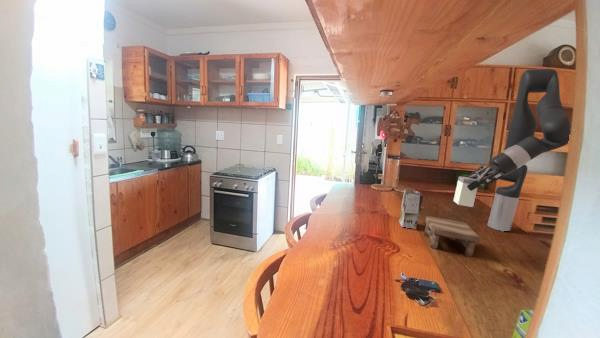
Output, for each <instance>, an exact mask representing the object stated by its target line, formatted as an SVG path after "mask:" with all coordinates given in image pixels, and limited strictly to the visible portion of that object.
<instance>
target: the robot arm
mask: <svg viewBox="0 0 600 338" xmlns="http://www.w3.org/2000/svg"><path fill="white" fill-rule="evenodd" d="M559 81H560V80H559V75H558V72H557V71H556V70H555V69H553V68H539V69H536V68H535V69H527V70H524V71H523V72H522V74H521V77H520V79H519V84H518V89H517V95H516V99H515V106H514V109H513V114H512V115H511V116H512V117H511V121H510V123H509V127H508V131H507V135H506V141H505V144H504V145H505V146H504V148H503V151H501V152H500V153H498V154H497V155H495V156H494V157H492V158H490V159H489V163H490V164H489V165H486V166H484V165H480V166H479V167H478V168H477V169H475V170H473V171H472V172H471V173H469V177H468V178H474V179H476V181H474V182H472V183H471V184H469V185H468V186H467V187H468V189H469V190H471V191H472V190H474V189H475V188H477V187H478V188H479V187H480V186H488V185H490V184H492V183H494V182H496V181H499V180H500V181H505V182H511V183H513V184H511V185H509V186H498V187H497V188H496V190H495V194H494V198H493V201H492V202H493V203H492V205H491V210H490V213H489V217H488V221H487V226H488V227H489V228H491V229H492V230H496V231H499V230H500V232H504V231H510V232H511V229H512V226H513V222H514V219H515V214H516V212H517V208H518V204H519V199H520V196H521V192H522V189H523V185H524V182H525V179H526V176H527V173H528V166H527V165H526V164H527V163H528V162H530V161H531V160H533V159H535V158H536V157H538V156H540V155H542V154H544V153H548V152H550V151H551V152H552V151H553V150H557V149H559V148H562V147H565V146H567V145H568V144H569V143H568V141H569V134H570V125H571V122H570V120H569V117H568V115H567V114H566V111H565V109H564V106H563V104H562V102H561V96H560V95H561V93H560V92H561V91H560V82H559ZM531 93H532V94H535V93H536V94H537V93H545V94H544V95H543V96H542V97H541V98H540V99H539V101H538V102H537V104H536V108H535V111H536V115H537V117H538V121H539V125H540V128H541V129H540V130H541V132H542V134H543V137H542V138H538V137H537V136H535V134H536V130H537V126H538V122H537V119H536V116H535V115H534V113H533V111H532V109H531V107H530V104H529V94H531ZM478 188H477V189H478Z"/></svg>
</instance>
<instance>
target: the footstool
mask: <svg viewBox="0 0 600 338" xmlns="http://www.w3.org/2000/svg"><path fill="white" fill-rule="evenodd" d="M424 220H425V222H426V223H425V228H424V233H423V235H424V236H425V237H429V239H430V244H429V245H430V246H429V248H430V249H432V250H438V245H439V242H440V237H441V236H443V237H448V238H452V239H453V238H454V242H456V243H460V244H463V246H464V247H465V251H464V255H465V256H467V257H471V258H472V257H473V255H474V251H475V246H476V243H479V242H480V236H479V235H478V234H477V233H476V231H474V230H473V229H472V228H471V227H470V226H469V225H468V224H467V223H466V222H464V221H457V220H451V219H446V218H442V217H441V218H440V217H435V216H430V215H425V219H424Z"/></svg>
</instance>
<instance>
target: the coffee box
mask: <svg viewBox="0 0 600 338" xmlns="http://www.w3.org/2000/svg"><path fill="white" fill-rule="evenodd" d="M403 190H404V191H403V196H402V200H401V206H400V211H399V212H400V213H399V218H398V222H399V224H400V226H401V228H402V227H406V228H405V229H407V228H413V229H416V230H417V227H418V222H419V218H420V213H421V207H422V205H423V204H422V203H423V199H424V194H422V193H421V192H420V191H419V190H416V189H406V188H405V189H403ZM413 229H412V230H413Z"/></svg>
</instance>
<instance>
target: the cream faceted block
mask: <svg viewBox="0 0 600 338" xmlns="http://www.w3.org/2000/svg"><path fill="white" fill-rule="evenodd" d="M457 179H458V180H457V182H456V187H455V192H454V195H453V196H454V197H453V202H454V203H455V204H457V205H458V206H463V207H468V208H469V207H470V208H474V204H475V200H476V195H477V191H478V188H479V187H477V188H475V189H474V190H472V191H471V190H469V189H468V187H467V186H468V185H469V184H471V183H472V182H474V181H476V179H474V178H469V177H466V176H461V175H460V176H458V178H457Z"/></svg>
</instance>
